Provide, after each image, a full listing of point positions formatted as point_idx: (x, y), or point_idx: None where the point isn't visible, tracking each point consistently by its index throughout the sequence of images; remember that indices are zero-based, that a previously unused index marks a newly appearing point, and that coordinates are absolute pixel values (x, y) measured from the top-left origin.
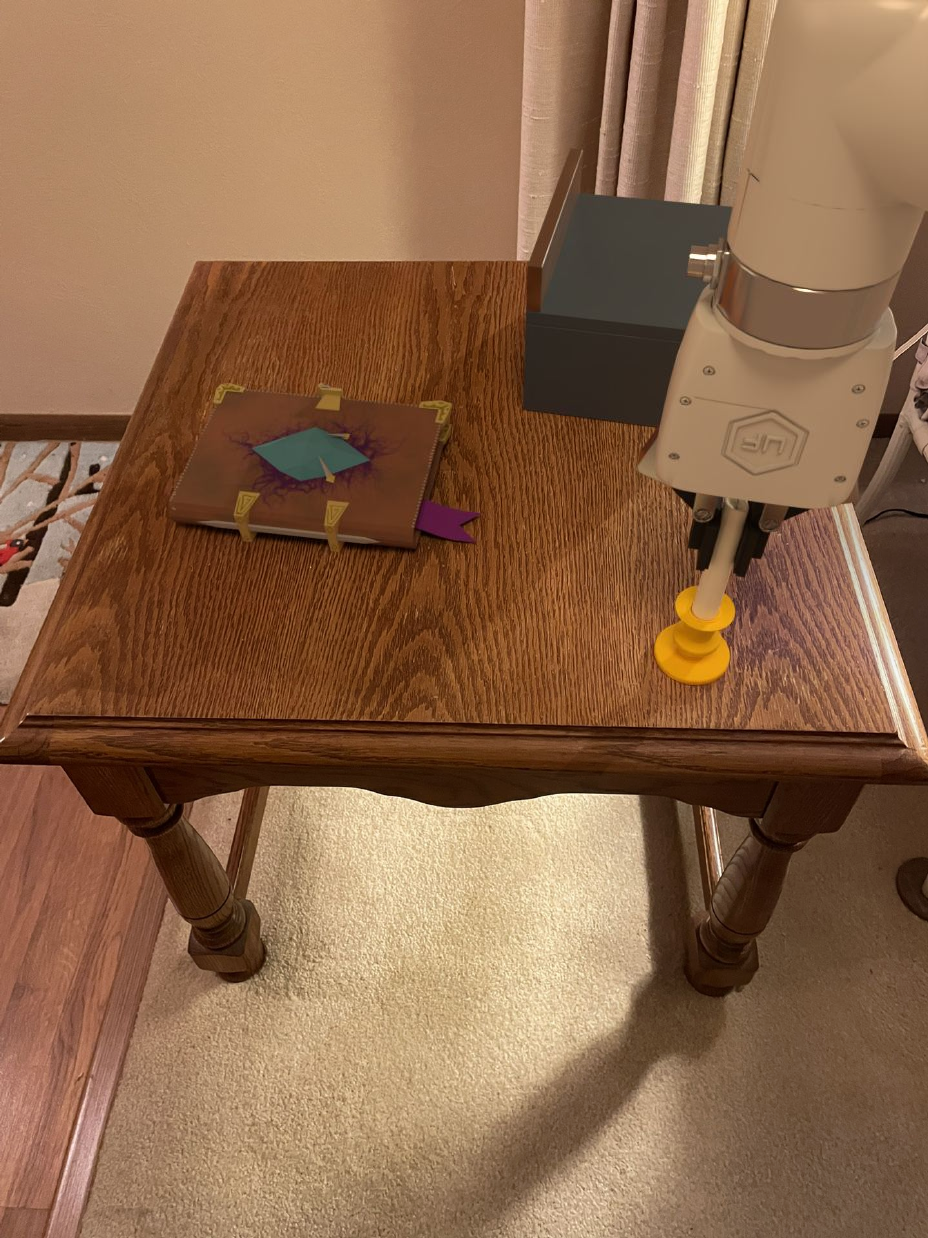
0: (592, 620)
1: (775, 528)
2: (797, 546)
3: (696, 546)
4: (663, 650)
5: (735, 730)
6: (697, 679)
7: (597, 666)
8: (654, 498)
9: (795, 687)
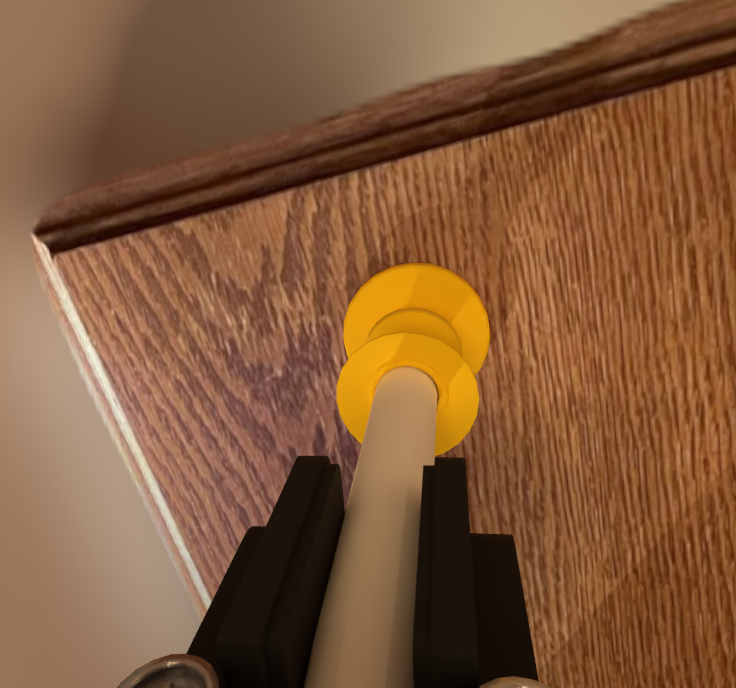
0: (621, 370)
1: (142, 681)
2: None
3: (484, 544)
4: (471, 324)
5: (309, 181)
6: (396, 273)
7: (602, 261)
8: None
9: (223, 307)
